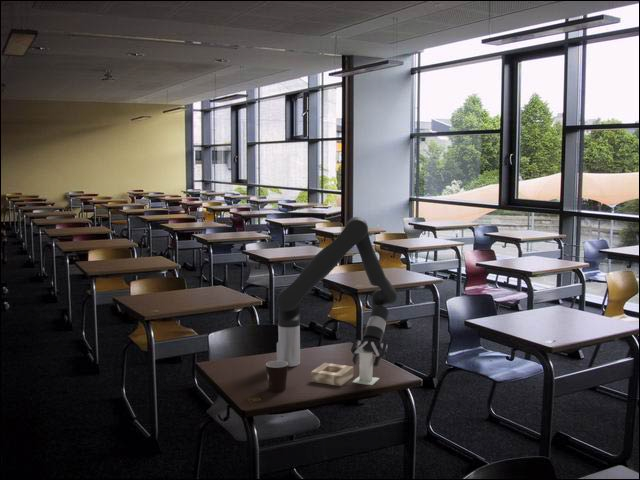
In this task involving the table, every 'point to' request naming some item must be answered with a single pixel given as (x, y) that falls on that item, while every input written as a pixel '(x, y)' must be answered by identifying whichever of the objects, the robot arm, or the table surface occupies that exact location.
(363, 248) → the robot arm
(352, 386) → the table surface
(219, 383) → the table surface
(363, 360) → the white upright block
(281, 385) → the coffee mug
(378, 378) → the mat
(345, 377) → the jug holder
